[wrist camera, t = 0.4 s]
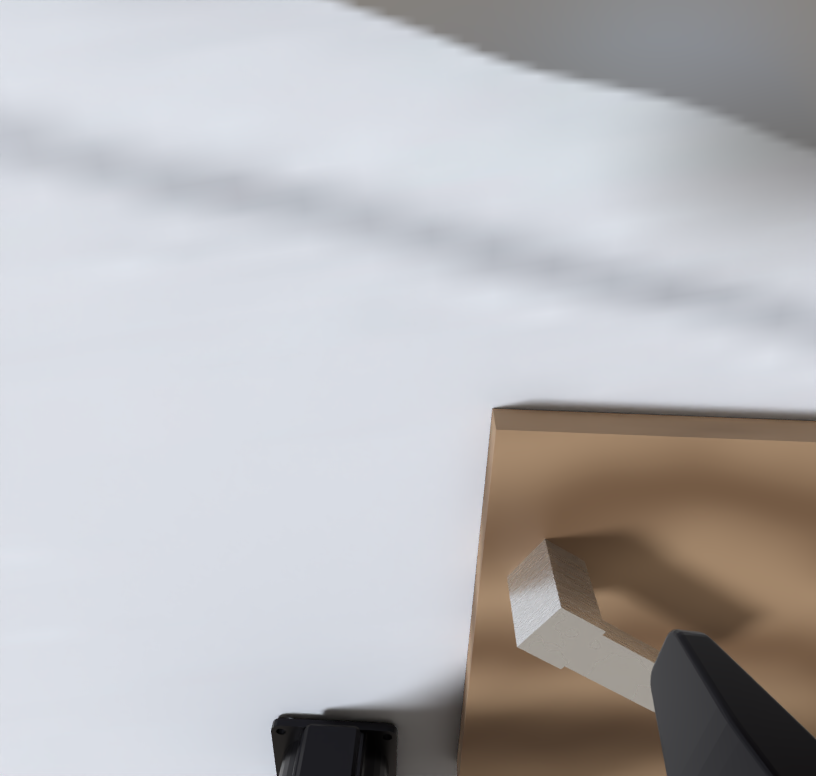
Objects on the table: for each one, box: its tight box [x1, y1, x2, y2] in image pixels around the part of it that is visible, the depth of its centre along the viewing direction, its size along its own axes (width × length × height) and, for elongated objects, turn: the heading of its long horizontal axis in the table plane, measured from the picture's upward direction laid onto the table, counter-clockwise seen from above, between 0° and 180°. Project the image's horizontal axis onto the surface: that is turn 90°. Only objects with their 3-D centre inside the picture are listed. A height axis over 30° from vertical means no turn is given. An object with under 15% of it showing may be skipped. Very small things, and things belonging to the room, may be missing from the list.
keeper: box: [507, 539, 660, 712], centre depth 23 cm, size 8×2×3 cm, turn 57°
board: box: [457, 408, 816, 776], centre depth 27 cm, size 22×23×2 cm
